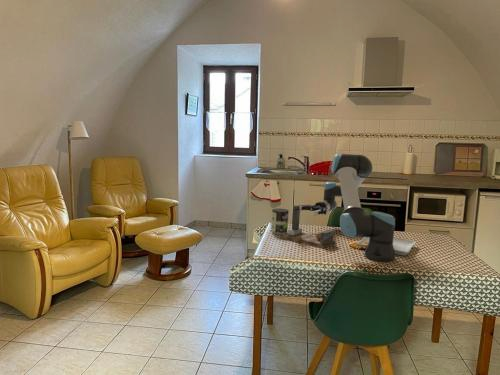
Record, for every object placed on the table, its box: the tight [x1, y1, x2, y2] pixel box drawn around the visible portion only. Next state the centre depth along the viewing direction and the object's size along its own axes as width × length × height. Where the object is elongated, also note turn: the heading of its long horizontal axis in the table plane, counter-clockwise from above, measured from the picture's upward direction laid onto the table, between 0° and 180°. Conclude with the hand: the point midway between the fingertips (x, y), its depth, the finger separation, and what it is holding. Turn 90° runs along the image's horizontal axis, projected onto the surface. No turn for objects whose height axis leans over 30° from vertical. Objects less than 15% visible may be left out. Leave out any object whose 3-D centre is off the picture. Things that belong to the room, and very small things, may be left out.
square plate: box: [356, 236, 417, 256], centre depth 222 cm, size 27×27×4 cm
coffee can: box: [271, 208, 289, 235], centre depth 246 cm, size 10×10×14 cm
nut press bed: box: [280, 228, 337, 249], centre depth 228 cm, size 28×14×8 cm, turn 52°
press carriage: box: [287, 205, 303, 236], centre depth 233 cm, size 4×9×17 cm, turn 142°
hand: (305, 211), depth 241 cm, fingers open, 13 cm apart
